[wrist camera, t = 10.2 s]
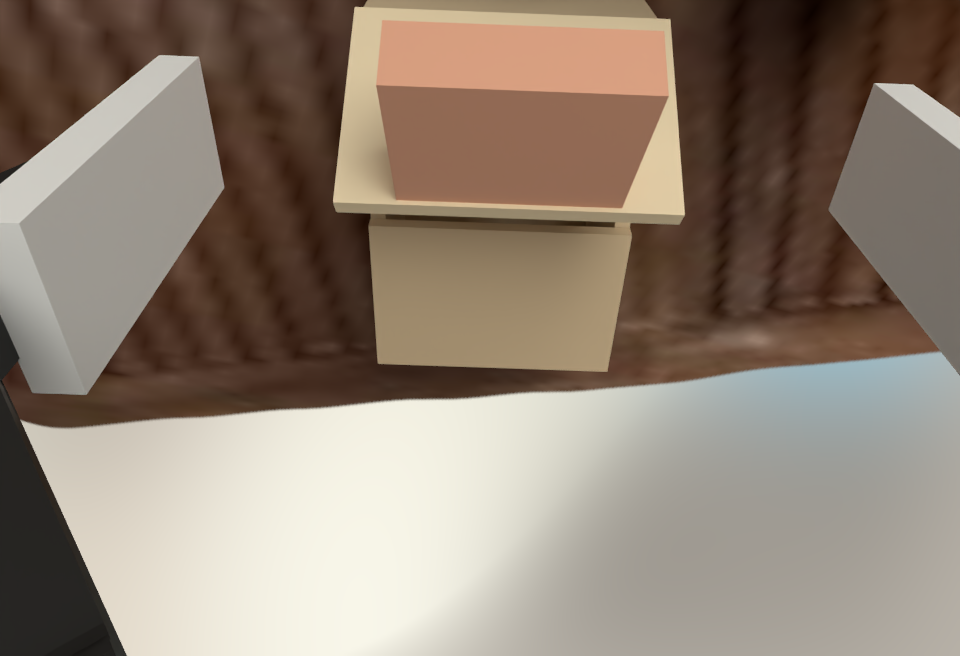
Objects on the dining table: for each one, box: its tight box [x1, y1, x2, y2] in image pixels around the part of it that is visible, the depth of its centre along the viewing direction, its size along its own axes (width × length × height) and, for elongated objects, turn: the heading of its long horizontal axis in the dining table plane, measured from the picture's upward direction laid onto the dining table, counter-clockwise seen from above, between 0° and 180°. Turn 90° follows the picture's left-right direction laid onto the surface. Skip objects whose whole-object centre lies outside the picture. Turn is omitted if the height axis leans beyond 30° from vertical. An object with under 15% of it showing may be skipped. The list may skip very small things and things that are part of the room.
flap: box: [333, 7, 685, 225], centre depth 27 cm, size 14×10×8 cm
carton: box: [364, 0, 657, 372], centre depth 43 cm, size 14×20×11 cm
